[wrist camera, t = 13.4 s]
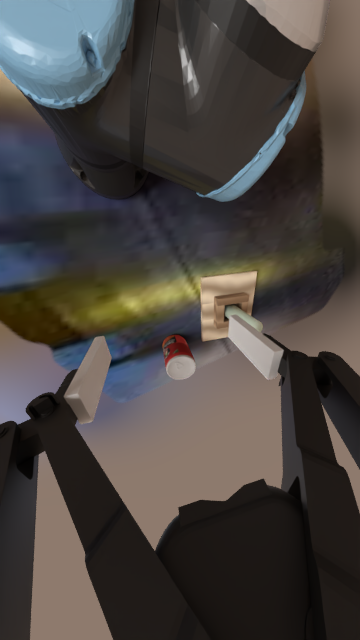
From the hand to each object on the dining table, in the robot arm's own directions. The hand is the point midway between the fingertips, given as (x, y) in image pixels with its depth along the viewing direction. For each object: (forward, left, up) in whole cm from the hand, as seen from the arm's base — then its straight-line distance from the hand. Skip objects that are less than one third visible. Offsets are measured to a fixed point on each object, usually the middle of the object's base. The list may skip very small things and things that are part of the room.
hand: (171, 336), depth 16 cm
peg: (+10, +20, -27) cm, 35 cm away
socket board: (+10, +20, -27) cm, 35 cm away
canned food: (+20, +3, -27) cm, 34 cm away
